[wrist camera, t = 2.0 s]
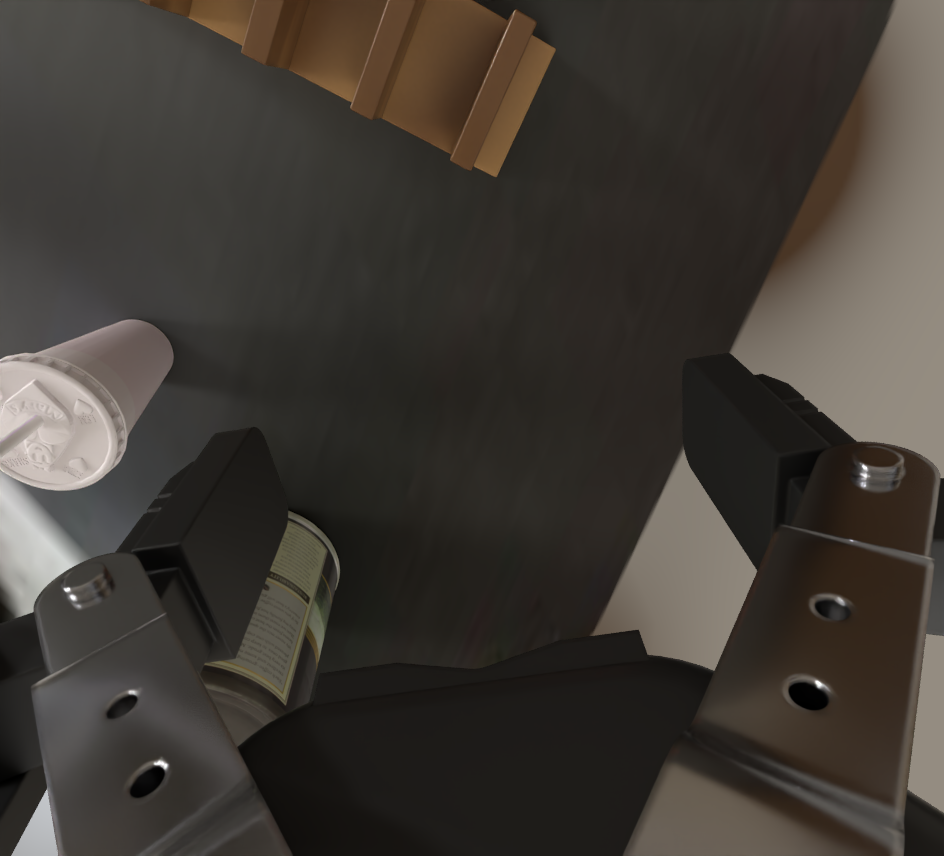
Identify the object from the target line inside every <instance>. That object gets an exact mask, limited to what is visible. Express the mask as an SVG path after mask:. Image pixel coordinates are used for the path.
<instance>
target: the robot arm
mask: <svg viewBox="0 0 944 856" xmlns="http://www.w3.org/2000/svg"><path fill="white" fill-rule="evenodd" d="M682 387H683V444H684V450H685V454H686V457H687V460H688V463H689V466H690V467H691V469H692V471H693V472H694V474H695V475H696V477H697V478H698V480H699V482H700V483H701V485H702V486H703V488H704V489H705V491H706V492H707V494H708V495H709V497H710V498H711V500H712V502H713V503H714V505H715V506H716V508H717V509H718V511H719V512H720V514H721V515H722V517H723V518H724V520H725V522H726V523H727V525H728V526H729V528H730V529H731V531H732V532H733V534H734V535H735V537H736V539H737V540H738V541H739V543H740V545H741V546H742V548H743V549H744V551H745V552H746V554H747V555H748V557H749V559H750V560H751V562H752V563H753V565H754V566H755V568H756V569H757V573H756V576H755V578H754V580H753V583H752V585H751V587H750V590H749V592H748V594H747V597H746V599H745V601H744V604H743V606H742V608H741V611H740V613H739V615H738V618H737V620H736V623H735V625H734V627H733V629H732V632H731V634H730V636H729V639H728V641H727V643H726V646H725V648H724V651H723V653H722V655H721V657H720V660H719V662H718V664H717V667H716V669H715V671H713V670H710V669H708V668H705V667H703V666H700V665H697V664H693V663H689V662H686V661H683V660H679V659H673V658H667V657H662V656H653V655H647V652H646V649H645V647H644V644H643V641H642V638H641V635H640V632H639V630H633V631H626V632H619V633H611V634H604V635H597V636H589V637H582V638H575V639H567V640H560V641H557V642H554V643H551V644H548V645H545V646H543V647H540V648H537V649H534V650H531V651H529V652H526V653H523V654H520V655H518V656H515V657H512V658H509V659H506V660H504V661H501V662H498V663H495V664H492V665H490V666H487V667H483V668H479V669H464V668H452V667H439V666H427V665H415V664H403V663H393V664H385V665H378V666H371V667H363V668H356V669H349V670H342V671H334V672H327V673H320V675H319V679H318V684H317V688H316V692H315V697H314V701H311V702H309V703H306V704H304V705H301V706H299V707H297V708H295V709H293V710H291V711H289V712H287V713H285V714H283V715H281V716H280V717H278V718H276V719H275V720H273V721H271V722H269V723H268V724H266V725H265V726H264V727H262V728H261V729H259V730H258V731H256V732H255V733H254V734H252V735H251V736H250V737H248V738H247V739H246V740H245V741H244V742H242V743H241V744H240V745H239V746H238V747H237V745H236V743H235V741H234V739H233V737H232V735H231V733H230V731H229V729H228V727H227V725H226V724H225V722H224V720H223V718H222V716H221V714H220V712H219V710H218V708H217V706H216V704H215V703H214V701H213V699H212V697H211V695H210V693H209V691H208V689H207V687H206V685H205V683H204V682H203V680H202V678H201V676H200V673H201V671H202V669H203V666H204V664H205V663H210V662H217V661H224V660H231V659H236V656H237V654H238V651H239V649H240V646H241V644H242V641H243V638H244V636H245V633H246V631H247V628H248V626H249V623H250V621H251V618H252V615H253V613H254V610H255V608H256V605H257V603H258V600H259V597H260V595H261V592H262V590H263V587H264V585H265V582H266V579H267V577H268V574H269V572H270V569H271V567H272V564H273V561H274V559H275V556H276V554H277V551H278V549H279V546H280V543H281V541H282V538H283V536H284V533H285V531H286V528H287V524H288V504H287V499H286V496H285V492H284V490H283V487H282V484H281V481H280V479H279V476H278V473H277V470H276V468H275V465H274V462H273V459H272V457H271V454H270V451H269V448H268V446H267V443H266V440H265V438H264V436H263V434H262V432H261V431H260V430H259V429H258V428H256V427H252V428H246V429H240V430H233V431H227V432H221V433H216V434H214V435H213V437H212V438H211V439H210V441H209V442H208V444H207V445H206V446H205V448H204V449H203V451H202V452H201V453H200V455H199V456H198V458H197V459H196V460H195V462H192V463H190V464H189V465H188V466H186V467H185V468H184V469H182V470H181V471H180V472H178V473H177V474H176V475H174V476H173V477H172V478H171V479H170V480H169V481H168V482H167V484H166V485H165V486H164V488H163V489H162V490H161V492H160V493H159V494H158V499H155V500H154V501H153V502H152V504H151V505H150V506H149V508H148V509H147V513H146V514H144V515H143V516H142V517H141V519H140V520H139V521H138V523H137V524H136V525H135V527H134V528H133V529H132V531H131V532H130V533H129V535H128V536H127V537H126V539H125V540H124V541H123V543H122V544H121V545H120V547H119V548H118V549H117V551H116V552H115V553H109V554H104V555H101V556H97V557H94V558H92V559H89V560H87V561H84V562H82V563H80V564H78V565H76V566H74V567H72V568H70V569H69V570H67V571H65V572H64V573H62V574H61V575H60V576H58V577H57V578H55V579H54V580H53V581H52V582H51V583H49V584H48V585H47V586H46V587H45V588H44V589H43V591H42V592H41V593H40V594H39V596H38V597H37V599H36V601H35V604H34V612H33V613H30V614H27V615H24V616H21V617H18V618H15V619H12V620H10V621H7V622H4V623H1V624H0V856H11V855H12V853H13V851H14V849H15V847H16V846H17V843H18V842H19V840H20V838H21V836H22V834H23V832H24V831H25V828H26V827H27V825H28V823H29V821H30V819H31V817H32V815H33V814H34V812H35V810H36V808H37V806H38V804H39V802H40V801H41V799H42V797H43V795H44V793H45V791H46V789H48V796H49V802H50V808H51V814H52V819H53V826H54V832H55V838H56V844H57V849H58V856H944V813H943V812H941V811H940V810H938V809H937V808H935V807H934V806H932V805H931V804H929V803H927V802H926V801H924V800H923V799H921V798H920V797H918V796H917V795H915V794H913V793H912V792H910V791H909V790H907V787H908V779H909V771H910V762H911V754H912V746H913V738H914V729H915V721H916V713H917V704H918V696H919V688H920V680H921V671H922V663H923V654H924V647H925V638H926V634H932V635H942V636H944V478H940V473H939V470H938V469H937V467H936V466H935V465H934V464H933V463H932V462H931V461H929V460H928V459H927V458H925V457H923V456H922V455H920V454H918V453H915V452H913V451H911V450H908V449H905V448H902V447H898V446H895V445H890V444H884V443H877V442H857V441H856V440H854V439H853V438H852V437H851V436H850V435H848V434H847V433H846V432H845V431H844V430H843V429H841V428H840V427H839V426H838V425H837V424H835V423H834V422H833V421H832V420H831V419H829V418H828V417H827V416H826V415H825V414H824V413H822V412H818V408H816V407H815V406H814V405H813V404H812V403H810V402H809V401H808V400H804V397H803V396H802V395H801V394H800V393H799V392H797V391H796V390H795V389H794V388H793V387H791V386H790V385H789V384H787V383H785V382H782V381H780V380H777V379H775V378H772V377H769V376H766V375H764V374H759V375H753V374H752V373H751V372H750V371H749V370H748V369H747V368H746V367H744V366H743V365H742V364H741V363H740V362H739V361H738V360H737V359H736V358H735V357H734V356H733V355H731V354H730V353H724V354H718V355H712V356H706V357H699V358H693V359H687V360H686V361H685V363H684V366H683V375H682Z"/></svg>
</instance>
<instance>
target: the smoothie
mask: <svg viewBox="0 0 944 856" xmlns="http://www.w3.org/2000/svg"><path fill="white" fill-rule="evenodd" d="M173 359H174V354H173V349H172V346H171V344H170V342H169V340H168V339H167V337H166V336H165V335H164V334H163V333H162V332H161V331H160V330H159V329H158V328H156V327H155V326H153V325H152V324H150V323H147V322H145V321H141V320H135V319H129V320H123V321H120V322H118V323H115V324H112V325H110V326H107V327H104V328H102V329H99V330H97V331H94V332H91V333H89V334H86V335H83V336H81V337H78V338H75V339H73V340H70V341H67V342H65V343H62V344H59V345H57V346H54V347H51V348H49V349H46V350H43V351H40V352H37V353H35V354H33V353H22V354H17V355H11V356H6V357H4V358H2V359H0V470H1V471H3V472H4V473H6V474H8V475H9V476H11V477H13V478H15V479H17V480H19V481H21V482H24V483H26V484H29V485H32V486H35V487H39V488H43V489H49V490H61V491H62V490H75V489H80V488H83V487H87V486H89V485H91V484H93V483H95V482H97V481H98V480H100V479H101V478H102V477H104V476H105V475H106V474H107V473H108V472H109V471H110V470H111V469H113V468H114V467H115V466H116V465H117V464H118V463H119V462H120V460H121V458H122V456H123V454H124V452H125V450H126V445H127V437H128V435H129V433H130V431H131V430H132V428H133V426H134V425H135V423H136V422H137V420H138V419H139V417H140V415H141V414H142V412H143V411H144V409H145V408H146V406H147V405H148V403H149V401H150V400H151V398H152V397H153V395H154V394H155V392H156V391H157V389H158V387H159V386H160V384H161V383H162V381H163V380H164V378H165V377H166V375H167V374H168V372H169V370H170V369H171V367H172V364H173Z"/></svg>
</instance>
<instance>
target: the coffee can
mask: <svg viewBox="0 0 944 856" xmlns="http://www.w3.org/2000/svg"><path fill="white" fill-rule="evenodd" d="M339 575H340V566H339V560H338V557H337V554H336V551H335V549H334V547H333V545H332V543H331V542H330V540H329V539H328V537H327V536H326V535H325V534H324V533H323V532H322V531H321V530H320V529H319V528H318V527H316V526H315V525H314V524H313V523H312V522H310V521H308V520H307V519H305V518H303V517H302V516H300V515H297V514H295V513H293V512H291V511H288V524H287V528H286V531H285V533H284V536H283V538H282V541H281V543H280V546H279V549H278V551H277V554H276V556H275V559H274V561H273V564H272V567H271V569H270V572H269V574H268V577H267V579H266V582H265V585H264V587H263V590H262V592H261V595H260V597H259V600H258V603H257V605H256V608H255V610H254V613H253V615H252V618H251V621H250V623H249V626H248V628H247V631H246V633H245V636H244V638H243V641H242V644H241V646H240V649H239V651H238V654H237V656H236V659H231V660H224V661H217V662H210V663H205V664H204V666H203V669H202V671H201V673H200V676H201V678H202V680H203V682H204V683H205V685H206V687H207V689H208V691H209V693H210V695H211V697H212V699H213V701H214V703H215V704H216V706H217V708H218V710H219V712H220V714H221V716H222V718H223V720H224V722H225V724H226V725H227V727H228V729H229V731H230V733H231V735H232V737H233V739H234V741H235V743H236V745H237V747H238V746H239V745H240V744H241V743H242V742H244V741H245V740H246V739H247V738H248V737H250V736H251V735H252V734H254V733H255V732H256V731H258V730H259V729H261V728H262V727H264V726H265V725H266V724H268V723H269V722H271V721H273V720H275V719H276V718H278V717H280V716H281V715H283V714H285V713H287V712H289V711H291V710H293V709H295V708H297V707H299V706H301V705H304V704H306V703H309V700H310V696H311V691H312V687H313V683H314V679H315V674H316V670H317V665H318V661H319V657H320V653H321V648H322V644H323V640H324V636H325V631H326V627H327V623H328V618H329V614H330V610H331V605H332V601H333V597H334V593H335V590H336V588H337V585H338V581H339Z"/></svg>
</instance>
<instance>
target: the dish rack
mask: <svg viewBox="0 0 944 856" xmlns="http://www.w3.org/2000/svg"><path fill="white" fill-rule="evenodd" d="M140 1H142V2H144V3H146V4H148V5H150V6H153V7H157V8H160V9H163V10H166V11H169V12H173V13H176V14H179V15H182V16H185V17H188V18H190V19H192V20H194V21H196V22H198V23H200V24H202V25H204V26H205V27H207V28H209V29H211V30H213V31H215V32H217V33H219V34H221V35H223V36H225V37H227V38H229V39H230V40H232V41H234V42H236V43H238V44H240V45H242V46H243V47H242V51H241V53H242V54H244V55H246V56H248V57H250V58H252V59H254V60H256V61H258V62H260V63H262V64H264V65H267V66H272V67H278V68H283V69H288V70H290V71H292V72H294V73H296V74H298V75H300V76H302V77H304V78H305V79H307V80H309V81H311V82H313V83H315V84H317V85H319V86H321V87H323V88H325V89H327V90H329V91H330V92H332V93H334V94H336V95H338V96H340V97H342V98H344V99H346V100H348V101H350V102H352V103H351V106H350V109H351V110H353V111H355V112H356V113H358V114H360V115H362V116H364V117H366V118H368V119H370V120H374V119H378V118H382V119H384V120H386V121H388V122H390V123H392V124H394V125H396V126H398V127H400V128H402V129H404V130H405V131H407V132H409V133H411V134H413V135H415V136H417V137H419V138H421V139H423V140H425V141H427V142H428V143H430V144H432V145H434V146H436V147H438V148H440V149H442V150H444V151H446V152H448V153H450V154H451V158H450V160H451V162H453V163H455V164H457V165H459V166H461V167H463V168H465V169H467V170H469V171H471V170H472V168H473V166H475V167H477V168H478V169H480V170H482V171H484V172H486V173H488V174H490V175H492V176H494V177H497V175H498V173H499V171H500V169H501V166H502V164H503V162H504V160H505V158H506V156H507V154H508V151H509V149H510V147H511V145H512V143H513V141H514V138H515V136H516V134H517V132H518V130H519V128H520V126H521V123H522V121H523V119H524V117H525V115H526V113H527V111H528V108H529V106H530V104H531V102H532V100H533V98H534V96H535V93H536V91H537V89H538V87H539V85H540V83H541V81H542V78H543V76H544V74H545V72H546V70H547V68H548V66H549V63H550V61H551V59H552V57H553V55H554V53H555V51H556V49H555V48H554V47H552V46H550V45H549V44H547V43H545V42H543V41H542V40H540V39H538V38H537V37H535V36H533V35H532V34H533V31H534V29H535V27H536V25H537V22H536V20H534V19H532V18H530V17H529V16H527V15H525V14H524V13H522V12H520V11H519V10H516V9H515V10H514V12H513V13H512V14H511V16H510V17H509V19H508V20H506V19H504V18H502V17H501V16H499V15H497V14H496V13H494V12H492V11H491V10H489V9H487V8H485V7H484V6H482V5H480V4H479V3H477V2H475V1H474V0H140Z"/></svg>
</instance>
